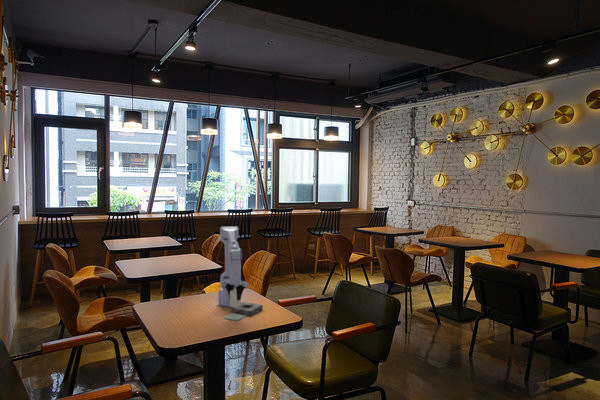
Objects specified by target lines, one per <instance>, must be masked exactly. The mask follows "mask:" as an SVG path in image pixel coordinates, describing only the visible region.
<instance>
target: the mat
mask: <svg viewBox="0 0 600 400" xmlns="http://www.w3.org/2000/svg"><path fill="white" fill-rule="evenodd" d="M245 317H247V315H242V314H236V313H230V314H229V315H227V316H225V317H223V320H228V321H229V320H230V321H235V322H239V321H240V320H242V319H244V318H245Z"/></svg>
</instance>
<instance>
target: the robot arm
mask: <svg viewBox="0 0 600 400" xmlns="http://www.w3.org/2000/svg"><path fill="white" fill-rule="evenodd" d="M219 228H220V229H219V237H220V238H219V239H220V242H221V243H223V245H224V264H225V265H224V267H225V268H224V269H225V271H224V272H222V274H220V282H219V284H220V288H219V291H218V295H217V296H218V299H217V306H222V307H228V308H229V307H230V291H231V290H233V289H236V291H237V300H241V301H242V294H243V292H244V291H245V290H244V289H246V288H247V287H249V282H247V281H242V271H241V270H242V260H243V251H242V250H243V249H241V248H240V245H239V242H238V238H239V227H238V226H236V225H235V226H221V227H219ZM226 276H230V277H226ZM224 277H226V278H224ZM230 308H231V307H230Z"/></svg>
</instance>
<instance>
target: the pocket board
mask: <svg viewBox="0 0 600 400" xmlns="http://www.w3.org/2000/svg"><path fill="white" fill-rule="evenodd" d="M263 307H264V306H263V304H260V303H253V302H248V301H247V302H246V301H243V302H241V306H239V307H237V308H236V307H230V308H231V313H230V314H233V313H234V314H240V315H245V316H250V317H252V316H254V315H256V314H257V313H259V312H261V311H262V310H263Z"/></svg>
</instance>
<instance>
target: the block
mask: <svg viewBox="0 0 600 400" xmlns="http://www.w3.org/2000/svg"><path fill="white" fill-rule="evenodd" d="M241 303H242V299H241V300H237V291H236V289H233V290H231V291H230V308H233V307H236V308H237V307H239V306H241Z"/></svg>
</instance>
